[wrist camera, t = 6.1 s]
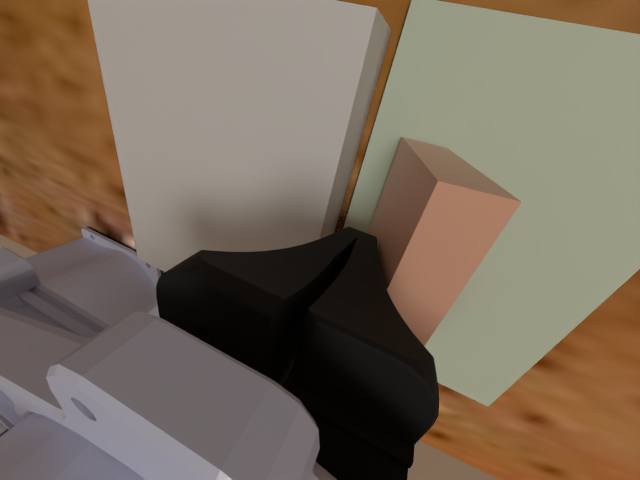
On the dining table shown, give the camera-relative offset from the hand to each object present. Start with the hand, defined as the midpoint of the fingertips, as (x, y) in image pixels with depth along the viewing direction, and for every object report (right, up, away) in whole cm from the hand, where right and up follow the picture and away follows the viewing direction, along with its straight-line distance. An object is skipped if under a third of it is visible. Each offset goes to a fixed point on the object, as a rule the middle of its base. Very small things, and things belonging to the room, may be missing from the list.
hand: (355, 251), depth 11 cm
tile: (+1, 0, 0) cm, 1 cm away
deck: (-6, +5, +5) cm, 9 cm away
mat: (+6, 0, +2) cm, 6 cm away
